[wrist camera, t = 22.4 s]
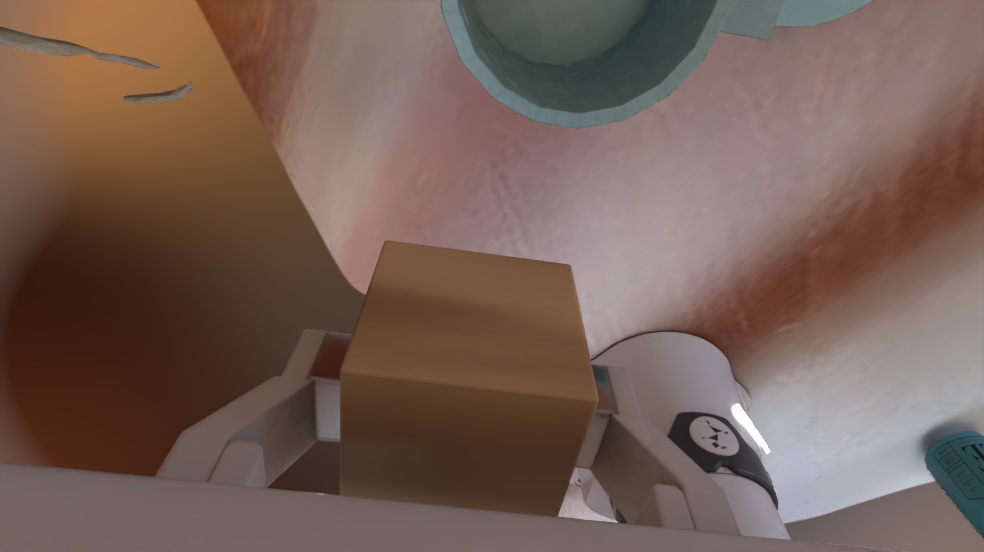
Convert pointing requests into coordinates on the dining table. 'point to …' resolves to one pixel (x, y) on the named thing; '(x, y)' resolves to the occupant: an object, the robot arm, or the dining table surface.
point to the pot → (593, 50)
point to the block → (465, 382)
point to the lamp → (69, 49)
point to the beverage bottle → (961, 473)
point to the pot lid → (815, 11)
